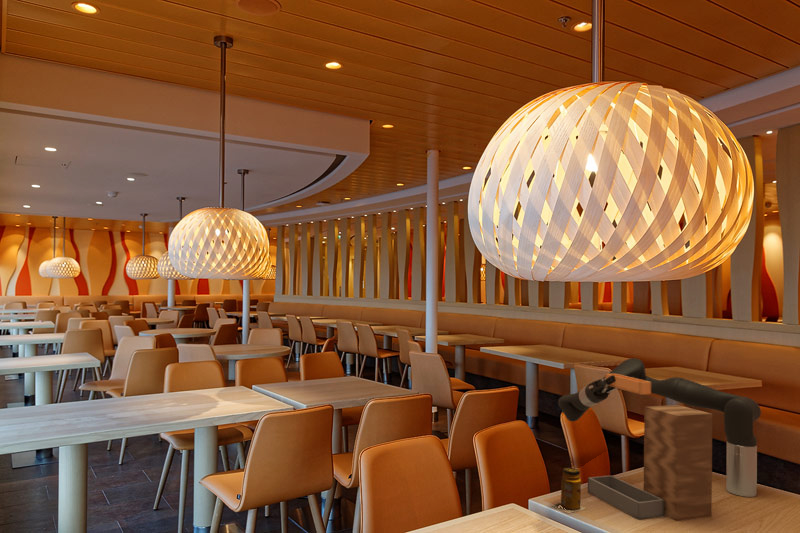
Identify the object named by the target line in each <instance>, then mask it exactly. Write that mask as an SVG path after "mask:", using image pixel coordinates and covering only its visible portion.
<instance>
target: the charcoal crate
mask: <svg viewBox="0 0 800 533" xmlns="http://www.w3.org/2000/svg"><path fill="white" fill-rule="evenodd" d="M587 493H588V494H590V495H591V496H594V497H596V498H597V499H600V500H602V501H603V502H605V503H607V504H609V505H610V506H612V507H614V508H616V509H617V510H619V511H622V512H623V513H625V514H627V515H629V516H631V517H633V518H634V519H637V520H638V521H639V520H646V519H654V518H663V517H665V515H664V501H665V500H663V499H661V498H659V497H657V496H655V495H653V494H650V493H648V492H646V491H644V489H642V488H640V487H637V486H635V485H633V484H631V483H629V482H627V481H625V480H622V479H621V478H618V477H617V476H614V475H611V474H609V475H602V476H601V475H600V476H592V477H587Z"/></svg>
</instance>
